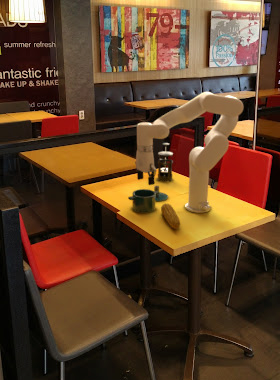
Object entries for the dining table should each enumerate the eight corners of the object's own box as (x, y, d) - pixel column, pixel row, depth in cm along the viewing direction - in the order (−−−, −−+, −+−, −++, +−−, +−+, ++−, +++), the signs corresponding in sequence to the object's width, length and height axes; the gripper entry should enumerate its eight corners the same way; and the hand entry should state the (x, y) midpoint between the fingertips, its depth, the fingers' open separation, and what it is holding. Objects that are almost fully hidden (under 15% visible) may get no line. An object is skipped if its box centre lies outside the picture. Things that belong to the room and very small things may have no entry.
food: (159, 213, 193) (159, 202, 192) (170, 212, 194) (170, 201, 193) (172, 232, 173) (172, 220, 172) (184, 231, 174) (184, 218, 173)
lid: (172, 199, 211) (173, 187, 210) (153, 204, 205) (153, 192, 203) (159, 192, 221) (159, 181, 220) (140, 196, 215) (140, 185, 213)
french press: (176, 181, 241) (177, 144, 236) (163, 183, 236) (164, 146, 231) (165, 175, 251) (166, 140, 246) (152, 178, 246) (153, 142, 241)
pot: (164, 209, 198) (164, 193, 196) (135, 216, 189) (135, 200, 187) (151, 202, 207) (151, 186, 205) (123, 208, 198) (123, 192, 197)
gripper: (129, 145, 196) (130, 178, 200) (148, 153, 182) (149, 188, 186) (141, 143, 200) (142, 175, 204) (161, 150, 186) (162, 185, 190)
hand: (145, 181), depth 195 cm, fingers open, 9 cm apart
